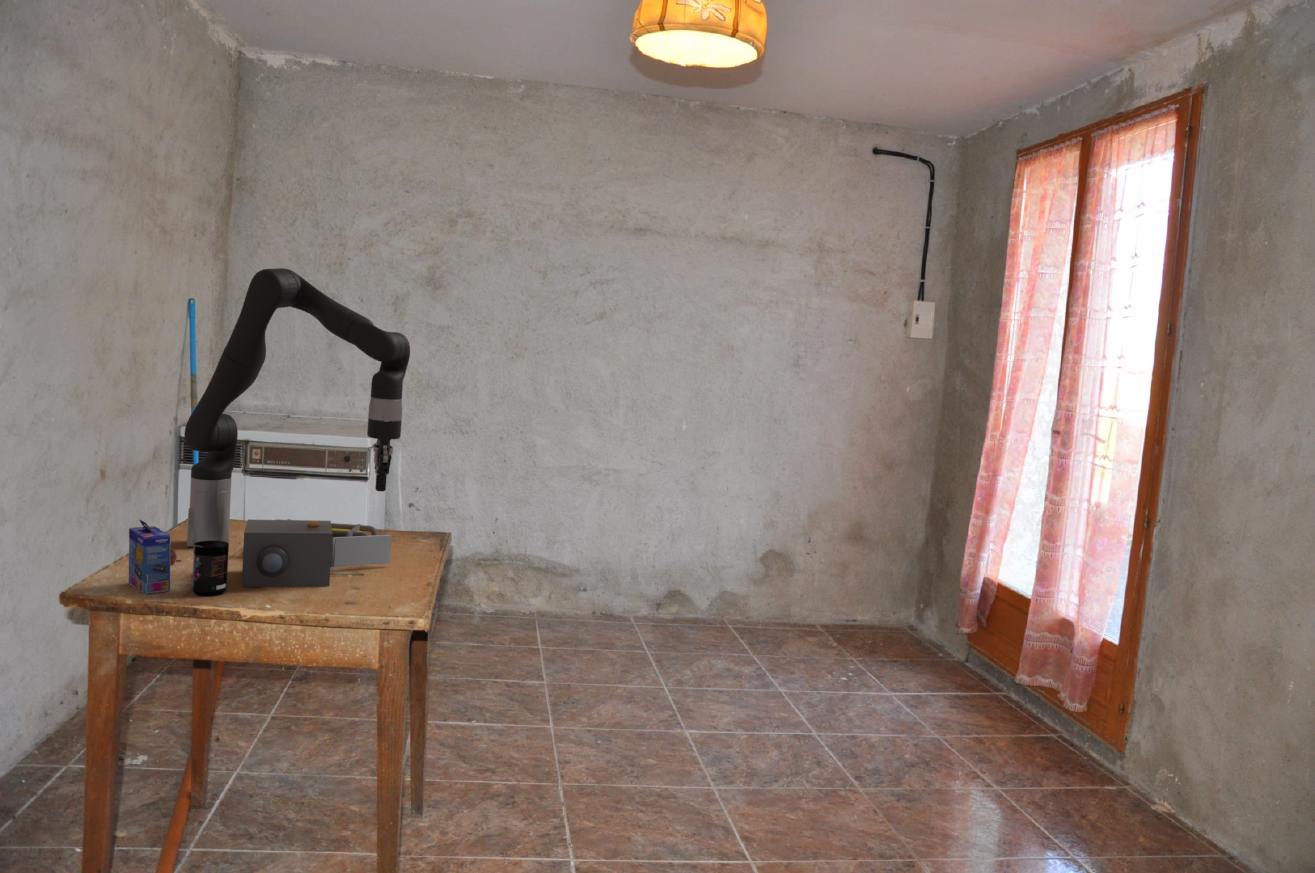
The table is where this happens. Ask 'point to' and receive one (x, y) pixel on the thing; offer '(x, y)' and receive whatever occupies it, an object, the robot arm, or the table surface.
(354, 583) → the table surface
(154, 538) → the ink cartridge box
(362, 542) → the side door
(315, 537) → the block
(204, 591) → the supplement container
